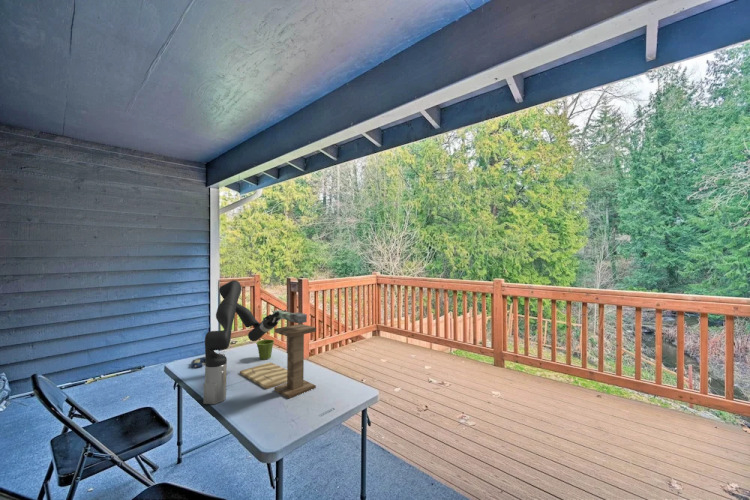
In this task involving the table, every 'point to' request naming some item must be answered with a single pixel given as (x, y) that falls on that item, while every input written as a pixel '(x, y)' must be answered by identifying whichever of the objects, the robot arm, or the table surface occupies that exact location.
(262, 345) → the plant pot
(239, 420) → the table surface
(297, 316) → the sanding stick
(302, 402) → the table surface
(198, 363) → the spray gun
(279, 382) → the pine board
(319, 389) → the table surface
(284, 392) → the shelf stand
